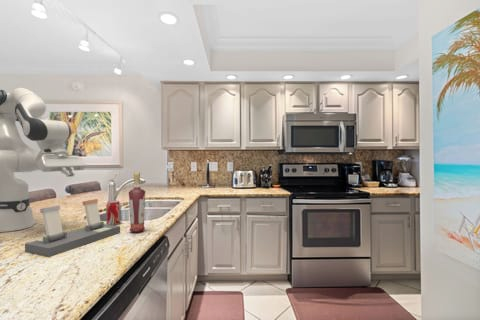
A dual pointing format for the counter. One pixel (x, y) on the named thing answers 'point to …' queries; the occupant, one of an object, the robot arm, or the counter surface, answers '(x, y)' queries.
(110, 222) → the soda can
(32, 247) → the switch board
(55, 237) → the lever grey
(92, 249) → the counter surface
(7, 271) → the counter surface
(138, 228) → the liquor
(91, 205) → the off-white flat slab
